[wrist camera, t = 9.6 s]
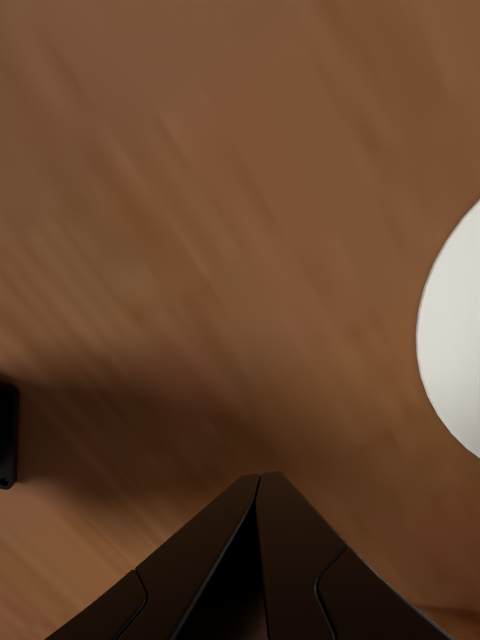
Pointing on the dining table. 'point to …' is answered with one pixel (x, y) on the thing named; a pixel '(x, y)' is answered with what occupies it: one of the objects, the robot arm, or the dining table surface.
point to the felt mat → (453, 332)
